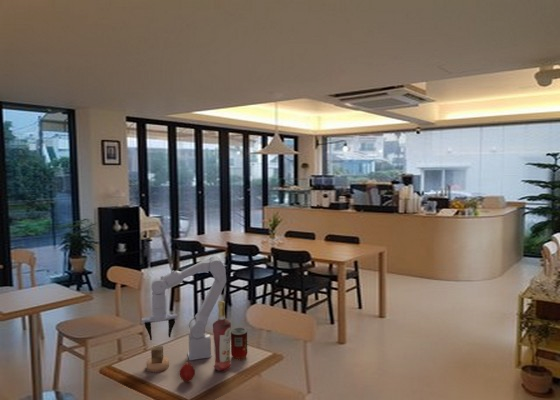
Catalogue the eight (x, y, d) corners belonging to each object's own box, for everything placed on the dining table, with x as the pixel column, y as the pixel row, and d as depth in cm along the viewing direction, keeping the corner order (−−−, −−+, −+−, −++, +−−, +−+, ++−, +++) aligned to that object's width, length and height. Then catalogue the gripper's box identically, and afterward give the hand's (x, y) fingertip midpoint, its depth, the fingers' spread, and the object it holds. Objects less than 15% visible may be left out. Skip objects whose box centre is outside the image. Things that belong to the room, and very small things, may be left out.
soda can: (248, 360, 174) (248, 332, 174) (232, 361, 173) (231, 333, 172) (246, 353, 181) (245, 326, 181) (230, 354, 180) (229, 327, 179)
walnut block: (163, 358, 171) (163, 345, 170) (161, 363, 167) (161, 350, 166) (153, 359, 170) (153, 346, 170) (151, 363, 166) (151, 350, 166)
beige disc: (168, 360, 175) (168, 354, 174) (169, 370, 166) (169, 364, 166) (146, 363, 172) (146, 358, 171) (146, 373, 163) (146, 367, 163)
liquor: (223, 375, 162) (222, 306, 160) (209, 370, 165) (208, 303, 164) (235, 367, 168) (234, 300, 166) (221, 363, 172) (220, 298, 170)
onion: (181, 378, 159) (180, 358, 159) (195, 377, 160) (195, 358, 159) (178, 386, 153) (178, 365, 153) (194, 385, 154) (193, 365, 153)
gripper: (175, 302, 180) (176, 332, 180) (141, 306, 175) (142, 336, 175) (177, 306, 173) (178, 338, 174) (141, 311, 168) (142, 343, 169)
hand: (160, 337), depth 174 cm, fingers open, 7 cm apart
